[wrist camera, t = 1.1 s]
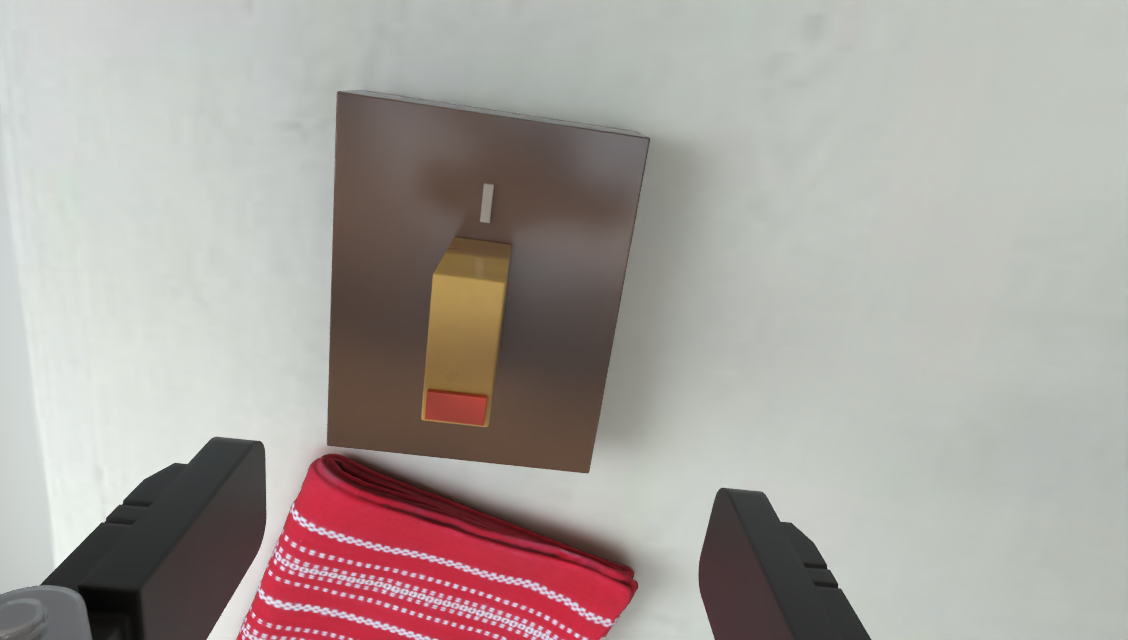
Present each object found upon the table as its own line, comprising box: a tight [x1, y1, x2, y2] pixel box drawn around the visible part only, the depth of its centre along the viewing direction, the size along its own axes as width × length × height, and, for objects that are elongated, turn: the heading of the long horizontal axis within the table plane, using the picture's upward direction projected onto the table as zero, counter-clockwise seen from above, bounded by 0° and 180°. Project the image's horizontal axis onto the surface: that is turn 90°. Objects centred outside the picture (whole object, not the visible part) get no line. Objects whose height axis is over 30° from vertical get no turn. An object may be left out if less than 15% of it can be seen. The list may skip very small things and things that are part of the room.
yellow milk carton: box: [421, 237, 512, 427], centre depth 23 cm, size 5×2×5 cm, turn 172°
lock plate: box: [327, 90, 650, 473], centre depth 27 cm, size 14×11×3 cm
